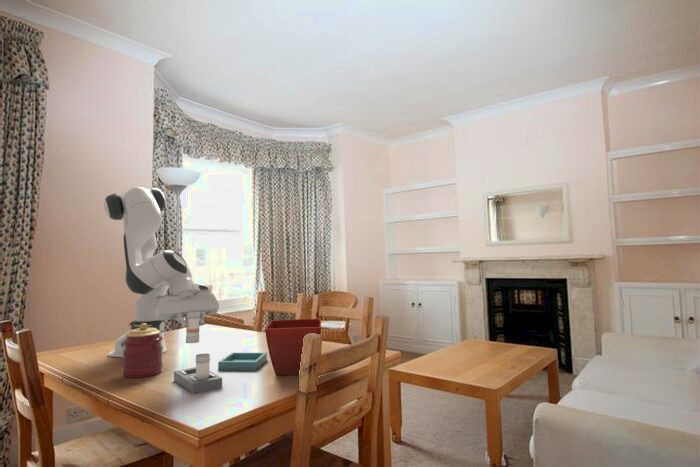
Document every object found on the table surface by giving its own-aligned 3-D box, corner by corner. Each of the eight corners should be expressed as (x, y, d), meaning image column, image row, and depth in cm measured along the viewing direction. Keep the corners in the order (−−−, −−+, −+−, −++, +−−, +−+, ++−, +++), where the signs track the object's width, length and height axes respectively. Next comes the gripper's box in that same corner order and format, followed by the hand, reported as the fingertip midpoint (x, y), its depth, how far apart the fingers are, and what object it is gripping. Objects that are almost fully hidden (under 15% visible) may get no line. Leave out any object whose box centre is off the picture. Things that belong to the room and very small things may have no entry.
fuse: (193, 389, 124) (193, 356, 124) (199, 384, 128) (199, 353, 128) (206, 389, 123) (206, 356, 124) (211, 385, 128) (212, 353, 128)
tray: (218, 370, 144) (218, 361, 144) (232, 360, 158) (232, 352, 158) (256, 370, 143) (256, 362, 143) (266, 360, 157) (266, 352, 157)
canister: (144, 379, 134) (145, 326, 135) (112, 377, 137) (113, 325, 138) (170, 369, 147) (171, 320, 148) (140, 367, 150) (141, 319, 151)
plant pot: (271, 363, 152) (271, 319, 153) (321, 362, 154) (321, 318, 154) (264, 379, 133) (264, 328, 134) (321, 377, 134) (321, 327, 135)
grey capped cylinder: (183, 343, 131) (184, 312, 132) (189, 340, 135) (190, 311, 136) (195, 343, 131) (196, 312, 132) (201, 340, 135) (202, 311, 136)
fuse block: (173, 380, 133) (173, 370, 133) (200, 374, 139) (200, 364, 139) (193, 394, 119) (193, 382, 120) (222, 387, 125) (222, 376, 125)
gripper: (154, 290, 133) (163, 323, 125) (214, 286, 146) (225, 316, 138) (150, 302, 136) (158, 335, 128) (209, 297, 149) (220, 327, 141)
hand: (194, 325), depth 133 cm, fingers closed on grey capped cylinder, 4 cm apart
